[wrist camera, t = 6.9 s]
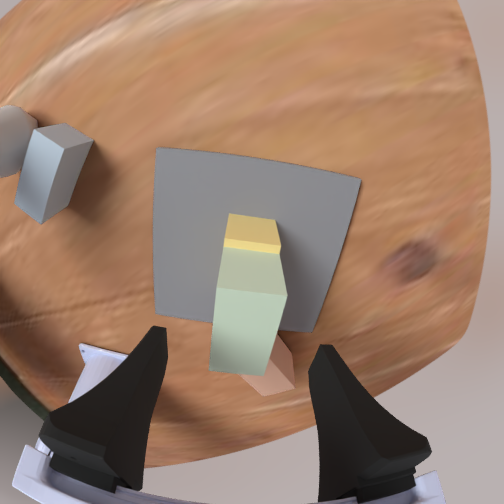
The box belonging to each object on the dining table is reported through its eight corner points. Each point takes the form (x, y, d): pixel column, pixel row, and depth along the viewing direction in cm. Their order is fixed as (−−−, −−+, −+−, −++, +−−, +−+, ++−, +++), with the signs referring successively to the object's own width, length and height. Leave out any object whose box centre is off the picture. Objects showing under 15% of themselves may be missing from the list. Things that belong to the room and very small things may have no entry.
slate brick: (68, 205, 19) (41, 224, 16) (43, 187, 18) (14, 203, 15) (94, 140, 17) (64, 148, 13) (66, 122, 16) (34, 129, 13)
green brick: (261, 330, 19) (263, 375, 15) (214, 325, 19) (208, 370, 15) (279, 254, 16) (287, 295, 13) (223, 246, 16) (216, 287, 12)
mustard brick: (260, 290, 22) (262, 325, 19) (220, 285, 22) (215, 319, 18) (275, 220, 20) (281, 245, 16) (229, 213, 19) (224, 238, 16)
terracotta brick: (291, 353, 26) (295, 388, 23) (262, 362, 27) (263, 396, 24) (265, 317, 23) (266, 355, 20) (232, 328, 24) (229, 365, 21)
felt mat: (311, 328, 25) (311, 332, 25) (157, 310, 24) (155, 314, 23) (358, 178, 19) (361, 179, 18) (158, 147, 17) (156, 148, 17)
